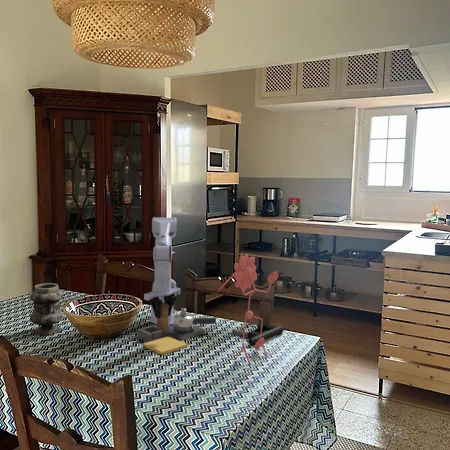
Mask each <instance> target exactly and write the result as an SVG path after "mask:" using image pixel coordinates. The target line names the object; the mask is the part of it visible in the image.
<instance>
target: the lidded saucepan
mask: <svg viewBox="0 0 450 450" xmlns="http://www.w3.org/2000/svg"><path fill="white" fill-rule="evenodd" d="M215 324H217V318H216V317H195V316H194V314H191V313H188V312H187V308H185V307H181V308H180V313H176V314H173V324H172V326H173V330H174V331H177V332H190V331H192V330H194V325H215Z"/></svg>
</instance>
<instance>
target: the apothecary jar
mask: <svg viewBox="0 0 450 450" xmlns="http://www.w3.org/2000/svg"><path fill="white" fill-rule="evenodd" d="M63 296H64V293H63V292H62V290H60V288H59V285H58V284H57V283H40V284H36V285H34V289H33V291H32V292H31V294H30V295H29V298H30V301H32V302H33V308H32V309H33V312H32V313H31V314H30V316H29V320H30V322H31V323H33V325H36V326H39V327H36V328H35V329H34V330H33V334H34V333H35V335H37V334H39V335H38V336H47V335H46V334H49V335H53V333H54V334H56V332H57V333H59V332H60V331H61V327H60V326H58V325H56V324H58V323H60V322H61V321H62V320H63V318H64V312H62V311H61V306H60V305H61V303H60V301H61V300H62V298H63ZM58 331H59V332H58Z"/></svg>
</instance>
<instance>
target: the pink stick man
mask: <svg viewBox="0 0 450 450" xmlns="http://www.w3.org/2000/svg"><path fill="white" fill-rule="evenodd" d="M255 262H256V257H255V256H250V257H249V254H248V253H246V254H244V255H242V254H241V255H240V256H239V260H238V263H237V262H235V263H234V265H233V267H234V273H232V275H231V276H230V277H228V279H227V280H225V281H224V283H223V284H221V286H220V287H219V289H218V291H220V290H221V289H222V288H223V287H224V286H225V285H226V284H227V283H228V282H229V281H231V279H232V278H234V280H236V281H235V284H234V286H235V288H240V290H241V291H242V294H243V296H244V297H246V296H248V295H249V297H248V305H247V311H246V312H245V315H244V316H245V319H244V325H243V330H242V331H243V337H242V346H241V349H240V351H239V352H238V354H237V356H236V357H235V358H234V360H233V361H234V362H236V361H237V359H238V358H239V357H240V355H241V353H242V352H243V351H244V355H245V357H246V360H247V363H248V365H251V361H250V359H249V356H248V353H247V350H246V348H245V347H246V344H244V343H245V337H244V332H246V324H247V320H251V319H253V318H256V319H257V320H258V319H259V320H261V323H260V324H261V334H262V324H264V323H263V322H264V320H263V318H260V317H259V316H258V317H257V316H255V315H254V312H253V311H251V310H250V305H251V298H252V297H251V296H253V294H255V293H256V292H258V293H259V292H260V293H265V294H268V293H269V291H270V289H271V286H272V285H273V283H274V282H277V280H278V278H279V273H278V271H276V270H275V271H274V272H271V273H270V274H269V275H268V276H267V282H268V283H269V286H268V288H267V290H261V289H257V288H256V285H255V282H254V281H257V279H258V274H257V271H256V270H257V267H256V264H255ZM251 287H253V290H250V291H248V292H246V291H247V289H251ZM245 292H246V293H245ZM261 334H260V339H259V340H258V341H257V342H256V344H255V346H253V347H254V349H255V350H256V351H258V350H259V349H260V348H261V347H262V349H263V352H264V355H265V357H268V353H267V350H266V348H265V346H264V338H262V339H261ZM234 348H236V346H234V347H233V346H232V347H231V348H226V349H223V351H221V352H220V354H221V353H223V352H225V351H227V350H230V349H234ZM275 351H277V352H278V353H280V351H279V350H277V349H276V350H275Z"/></svg>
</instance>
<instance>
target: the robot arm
mask: <svg viewBox="0 0 450 450" xmlns="http://www.w3.org/2000/svg"><path fill="white" fill-rule="evenodd" d="M177 222H178V221H177V217H155V216H154V217H152V219H151V231H152V235H153V238H155V243H154V245H155V246H154V247H153V251H152V258H153V266H154V281H153V283H152V291H150V292H147V293H144V294H143V296H144V297H143V300H145V301H149V303H150V319H149V322H150V323H152V324H154V325H155V324H156V325H157V318H160V310H161V304H162V302H165V303H168V305H169V308H168V326H171V325H173V316H174V304H175V302H176V300H177V299H178V296H177V295H181V288H179V287H177V283H176V281H175V280H174V279H172V262H173V261H172V260H173V246H172V239H174V238H176V236H177V227H178V226H177V224H178V223H177Z"/></svg>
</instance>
